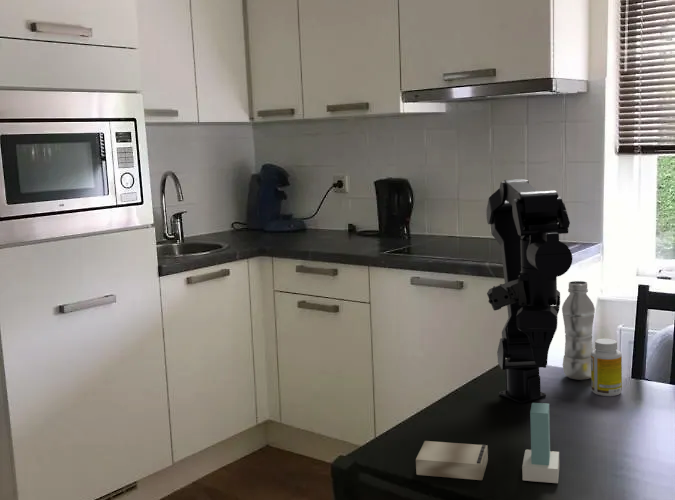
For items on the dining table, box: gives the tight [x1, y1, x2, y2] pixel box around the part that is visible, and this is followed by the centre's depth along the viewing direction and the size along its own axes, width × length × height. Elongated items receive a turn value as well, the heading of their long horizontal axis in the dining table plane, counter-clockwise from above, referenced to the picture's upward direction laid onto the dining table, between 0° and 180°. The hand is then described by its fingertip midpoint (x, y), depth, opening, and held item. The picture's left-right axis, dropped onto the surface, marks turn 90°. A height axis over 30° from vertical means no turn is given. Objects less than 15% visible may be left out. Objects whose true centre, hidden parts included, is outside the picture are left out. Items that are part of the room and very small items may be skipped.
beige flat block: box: [415, 440, 489, 481], centre depth 116 cm, size 10×7×3 cm
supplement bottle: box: [590, 338, 623, 397], centre depth 143 cm, size 6×6×10 cm
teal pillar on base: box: [521, 402, 560, 484], centre depth 111 cm, size 5×6×10 cm
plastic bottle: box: [561, 280, 596, 381], centre depth 151 cm, size 6×7×20 cm
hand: (540, 356), depth 127 cm, fingers open, 9 cm apart
